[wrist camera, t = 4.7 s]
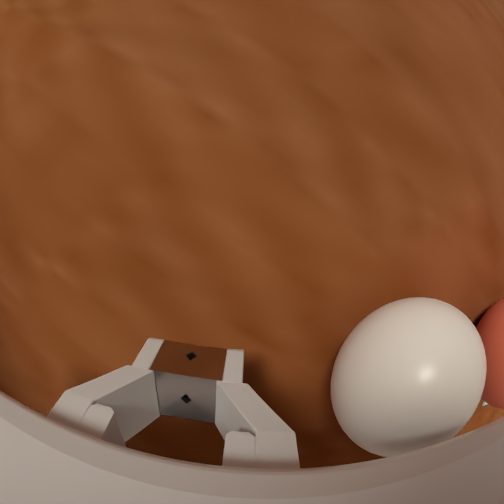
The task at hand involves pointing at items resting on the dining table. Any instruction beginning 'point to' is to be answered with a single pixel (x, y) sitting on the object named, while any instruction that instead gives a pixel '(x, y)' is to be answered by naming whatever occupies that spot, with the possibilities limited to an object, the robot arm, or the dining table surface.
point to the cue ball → (408, 376)
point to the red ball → (493, 353)
